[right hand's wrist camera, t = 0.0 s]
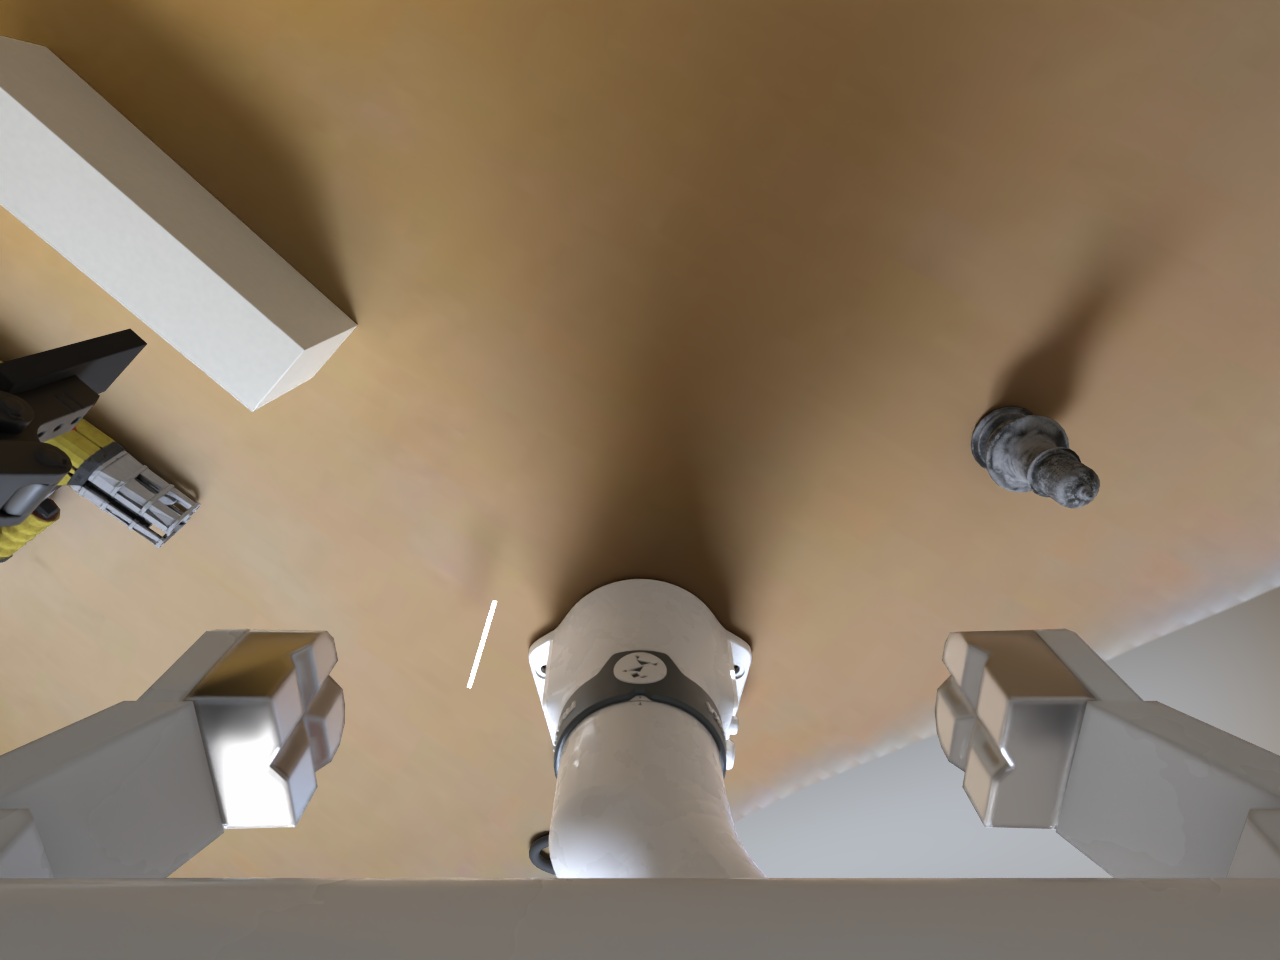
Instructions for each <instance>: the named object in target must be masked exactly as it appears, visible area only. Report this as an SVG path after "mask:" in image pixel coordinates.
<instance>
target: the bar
mask: <svg viewBox="0 0 1280 960" xmlns="http://www.w3.org/2000/svg"><path fill="white" fill-rule="evenodd" d="M0 204H1V205H2V206H3V207H4V208H5V209H7V210H8V211H9V212H10V213H11V214H13V215H14V216H15V217H16V218H18V219H19V220H20V221H21V222H22V223H24V224H25V225H26V226H27V227H28V228H30V229H31V230H32V231H33V232H35V233H36V234H37V235H38V236H39V237H41V238H42V239H43V240H44V241H45V242H47V243H48V244H49V245H50V246H52V247H53V248H54V249H55V250H56V251H58V252H59V253H60V254H61V255H62V256H64V257H65V258H66V259H67V260H69V261H70V262H71V263H72V264H73V265H75V266H76V267H77V268H78V269H79V270H81V271H82V272H83V273H84V274H86V275H87V276H88V277H89V278H90V279H92V280H93V281H94V282H95V283H96V284H98V285H99V286H100V287H101V288H102V289H104V290H105V291H106V292H107V293H109V294H110V295H111V296H112V297H113V298H115V299H116V300H117V301H118V302H119V303H121V304H122V305H123V306H124V307H126V308H127V309H128V310H129V311H130V312H132V313H133V314H134V315H135V316H136V317H138V318H139V319H140V320H141V321H143V322H144V323H145V324H146V325H147V326H149V327H150V328H151V329H152V330H153V331H155V332H156V333H157V334H158V335H160V336H161V337H162V338H163V339H164V340H166V341H167V342H168V343H169V344H170V345H172V346H173V347H174V348H175V349H177V350H178V351H179V352H180V353H181V354H183V355H184V356H185V357H186V358H187V359H189V360H190V361H191V362H192V363H193V364H195V365H196V366H197V367H198V368H200V369H201V370H202V371H203V372H204V373H206V374H207V375H208V376H209V377H210V378H212V379H213V380H214V381H215V382H217V383H218V384H219V385H220V386H221V387H223V388H224V389H225V390H226V391H227V392H229V393H230V394H231V395H232V396H234V397H235V398H236V399H237V400H238V401H240V402H241V403H242V404H243V405H244V406H246V407H247V408H248V409H249V410H251V411H252V412H253V411H255V410H256V409H258V408H260V407H262V406H263V405H265V404H267V403H269V402H271V401H272V400H274V399H276V398H278V397H279V396H281V395H283V394H285V393H286V392H288V391H290V390H292V389H294V388H295V387H297V386H299V385H301V384H302V383H304V382H306V381H308V380H310V379H311V378H313V377H314V375H315V374H316V373H317V372H318V371H319V370H320V368H321V367H322V366H323V365H324V364H325V363H326V362H327V360H328V359H329V358H330V357H331V356H332V355H333V353H334V352H335V351H336V350H337V349H338V348H339V347H340V345H341V344H342V343H343V342H344V341H345V340H346V338H347V337H348V336H349V335H350V334H351V333H352V332H353V330H354V329H355V328H356V327H357V326H358V325H357V324H356V323H355V322H354V321H352V320H351V319H350V318H349V317H348V316H347V315H346V314H345V313H343V312H342V311H341V310H340V309H339V308H338V307H337V306H336V305H335V304H333V303H332V302H331V301H330V300H329V299H328V298H327V297H326V296H324V295H323V294H322V293H321V292H320V291H319V290H318V289H317V288H315V287H314V286H313V285H312V284H311V283H310V282H309V281H308V280H307V279H305V278H304V277H303V276H302V275H301V274H300V273H299V272H298V271H296V270H295V269H294V268H293V267H292V266H291V265H290V264H289V263H288V262H286V261H285V260H284V259H283V258H282V257H281V256H280V255H279V254H277V253H276V252H275V251H274V250H273V249H272V248H271V247H270V246H268V245H267V244H266V243H265V242H264V241H263V240H262V239H261V238H260V237H258V236H257V235H256V234H255V233H254V232H253V231H252V230H251V229H249V228H248V227H247V226H246V225H245V224H244V223H243V222H242V221H240V220H239V219H238V218H237V217H236V216H235V215H234V214H233V213H232V212H230V211H229V210H228V209H227V208H226V207H225V206H224V205H223V204H221V203H220V202H219V201H218V200H217V199H216V198H215V197H214V196H213V195H211V194H210V193H209V192H208V191H207V190H206V189H205V188H204V187H202V186H201V185H200V184H199V183H198V182H197V181H196V180H195V179H193V178H192V177H191V176H190V175H189V174H188V173H187V172H186V171H185V170H183V169H182V168H181V167H180V166H179V165H178V164H177V163H176V162H174V161H173V160H172V159H171V158H170V157H169V156H168V155H167V154H165V153H164V152H163V151H162V150H161V149H160V148H159V147H158V146H157V145H155V144H154V143H153V142H152V141H151V140H150V139H149V138H148V137H146V136H145V135H144V134H143V133H142V132H141V131H140V130H139V129H138V128H136V127H135V126H134V125H133V124H132V123H131V122H130V121H129V120H127V119H126V118H125V117H124V116H123V115H122V114H121V113H120V112H118V111H117V110H116V109H115V108H114V107H113V106H112V105H111V104H110V103H108V102H107V101H106V100H105V99H104V98H103V97H102V96H101V95H99V94H98V93H97V92H96V91H95V90H94V89H93V88H92V87H91V86H89V85H88V84H87V83H86V82H85V81H84V80H83V79H82V78H80V77H79V76H78V75H77V74H76V73H75V72H74V71H73V70H71V69H70V68H69V67H68V66H67V65H66V64H65V63H64V62H63V61H61V60H60V59H59V58H58V57H57V56H56V55H55V54H54V53H52V52H51V51H50V50H49V49H48V48H47V47H45V46H41V45H37V44H33V43H29V42H25V41H21V40H17V39H13V38H9V37H5V36H1V35H0Z"/></svg>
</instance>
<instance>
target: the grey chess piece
mask: <svg viewBox="0 0 1280 960" xmlns="http://www.w3.org/2000/svg"><path fill="white" fill-rule="evenodd" d="M971 448H972V454H973V456H974V458H975V460H976V461H977V462H978V463H979V464H980V465H981V466H982V467H983V468H985V469H987V470H988V472H989V474H990V476H991V478H992V479H993V480H994V481H995V482H996V483H997V484H998V485H999V486H1001V487H1002V488H1004V489H1006V490H1009V491H1013V492H1029V491H1033V492H1034V493H1036V494H1038V495H1040V496H1043V497H1051V498H1052V499H1054V500H1055V501H1056V502H1058V503H1059V504H1061V505H1063V506H1065V507H1069V508H1079V507H1082V506H1084V505H1086V504H1088V503H1090V502H1091V501H1092V500H1093V499H1094V498H1095V497H1096V495H1097V493H1098V491H1099V487H1100V481H1099V478H1098V476H1097V474H1096V473H1095V472H1094V471H1093V470H1092V469H1090V468H1089V467H1087V466H1085V465H1084V464H1082V463H1081V461H1080V459H1079V456H1078V455H1077V454H1076V453H1075V452H1074V451H1072V450H1070V449H1069V443H1068V437H1067V435H1066V433H1065V430H1064V429H1063V428H1062V427H1061V426H1060V425H1059V424H1058V423H1057V422H1056V421H1054V420H1052V419H1051V418H1049V417H1045V416H1041V415H1033V414H1032V413H1031V412H1029V411H1027V410H1026V409H1024V408H1020V407H1003V408H1000V409H997V410H995V411H993V412H991V413H989V414H988V415H987V416H985V417H984V418H983V419H982V420H981V421H980V422H979V424H978V425H977V427H976V428H975V431H974V433H973V435H972V441H971Z"/></svg>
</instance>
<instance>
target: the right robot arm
mask: <svg viewBox="0 0 1280 960" xmlns="http://www.w3.org/2000/svg"><path fill="white" fill-rule="evenodd" d="M496 603H497V601H494V600H493V602H492V605H491V608H490V612H489V615H488V619H487V622H486V625H485V629H484V632H483V635H482V639H481V642H480V646H479V649H478V652H477V656H476V659H475V662H474V666H473V669H472V673H471V676H470V679H469V683H468V686H467V687H469V688H471V686H472V683H473V680H474V677H475V673H476V670H477V667H478V663H479V660H480V657H481V653H482V650H483V647H484V643H485V640H486V637H487V633H488V630H489V627H490V623H491V620H492V616H493V613H494V610H495V606H496ZM751 659H752V656H751V648H750V646H749V645H748V644H747V643H746V642H745V641H744V640H742V639H741V638H739V637H737V636H736V635H734V634H732V633H731V632H729V631H727V630H725V629H724V628H723V627H722V625H721V624H720V623H719V622H718V620H717V619H716V617H715V616H714V615H713V613H712V612H711V611H710V609H709V608H708V607H707V606H706V605H705V604H704V603H703V602H702V601H701V600H700V599H698V598H697V597H696V596H694V595H693V594H691V593H690V592H688V591H686V590H684V589H682V588H680V587H678V586H676V585H673V584H670V583H667V582H663V581H658V580H651V579H629V580H622V581H618V582H614V583H610V584H607V585H605V586H602V587H600V588H598V589H596V590H594V591H592V592H591V593H589V594H587V595H586V596H585V597H583V598H582V599H581V600H580V601H579V602H577V603H576V604H575V605H574V606H573V607H572V609H571V610H570V611H569V612H568V614H567V615H566V617H565V618H564V619H563V621H562V622H561V623H560V625H559V626H558V627H557V628H556V629H555V630H553V631H552V632H550V633H548V634H546V635H545V636H543V637H541V638H540V639H538V640H537V641H536V642H534V643H533V644H532V645H531V647H530V649H529V663H530V666H531V670H532V673H533V677H534V680H535V684H536V687H537V691H538V694H539V697H540V701H541V704H542V708H543V711H544V715H545V718H546V722H547V725H548V729H549V732H550V735H551V739H552V742H553V746H554V749H553V752H554V770H555V776H556V779H557V782H556V789H555V797H554V804H553V811H552V818H551V825H550V833H549V835H546V836H543V837H541V838H539V839H537V840H536V841H534V842H533V844H532V845H531V847H530V851H529V858H530V859H531V861H532V863H533V864H534V865H535V866H536V867H538V868H539V869H541V870H543V871H546V872H548V873H551V874H553V875H556V876H557V878H167V877H168V876H169V875H170V874H172V873H173V872H174V871H175V870H177V869H178V868H179V867H181V866H182V865H183V864H184V863H186V862H187V861H188V860H190V859H191V858H192V857H193V856H195V855H196V854H197V853H198V852H200V851H201V850H202V849H204V848H205V847H206V846H207V845H209V844H210V843H211V842H212V841H214V840H215V839H216V838H218V837H219V836H220V835H221V834H223V833H224V829H236V828H271V827H295V826H296V825H297V823H298V821H299V819H300V817H301V816H302V814H303V812H304V810H305V808H306V807H307V805H308V803H309V801H310V799H311V797H312V796H313V794H314V792H315V790H316V788H317V781H316V775H315V772H316V771H317V770H319V769H320V768H322V767H323V766H325V765H327V764H328V763H330V762H331V761H332V759H333V757H334V755H335V753H336V751H337V749H338V747H339V745H340V741H341V736H342V732H343V728H344V724H345V703H344V696H343V689H342V688H341V687H340V686H339V685H338V684H337V683H336V682H335V681H334V680H333V679H332V678H331V677H330V676H329V674H330V672H331V670H332V669H333V667H334V666H335V664H336V662H337V661H338V658H337V653H336V648H335V643H334V638H333V637H332V636H331V635H330V634H329V633H328V632H327V631H301V630H249V629H220V630H211V631H206V632H205V633H204V634H203V635H202V636H201V637H200V638H199V639H198V640H197V641H196V642H195V643H194V644H193V645H192V646H191V647H190V648H189V649H188V650H187V651H186V652H185V653H184V654H183V655H182V656H181V657H180V658H179V659H178V660H177V661H176V662H175V663H174V664H173V665H172V666H171V667H170V668H169V669H168V670H167V671H166V672H165V673H164V674H163V675H162V676H161V677H160V678H159V679H158V680H157V681H156V682H155V683H154V684H153V685H152V686H151V687H150V688H149V689H148V690H147V691H146V692H145V693H144V694H143V695H142V696H141V697H140V698H139V699H138V700H137V701H123V702H120V703H118V704H116V705H114V706H111V707H109V708H107V709H105V710H102V711H100V712H98V713H96V714H93V715H91V716H89V717H87V718H84V719H82V720H80V721H78V722H75V723H73V724H71V725H69V726H66V727H64V728H62V729H60V730H57V731H55V732H53V733H51V734H48V735H46V736H44V737H41V738H39V739H37V740H35V741H32V742H30V743H28V744H26V745H23V746H21V747H19V748H17V749H14V750H12V751H10V752H8V753H5V754H3V755H1V756H0V960H1280V756H1279V755H1276V754H1274V753H1272V752H1270V751H1267V750H1265V749H1263V748H1261V747H1259V746H1256V745H1254V744H1252V743H1250V742H1247V741H1245V740H1243V739H1241V738H1238V737H1236V736H1234V735H1232V734H1229V733H1227V732H1225V731H1223V730H1220V729H1218V728H1216V727H1214V726H1211V725H1209V724H1207V723H1205V722H1202V721H1200V720H1198V719H1195V718H1193V717H1191V716H1189V715H1187V714H1184V713H1182V712H1180V711H1178V710H1175V709H1173V708H1171V707H1169V706H1166V705H1164V704H1162V703H1160V702H1157V701H1143V700H1142V699H1141V698H1140V697H1139V696H1138V695H1137V694H1136V693H1135V692H1134V691H1133V690H1132V689H1131V688H1130V687H1129V686H1128V685H1127V684H1126V683H1125V682H1124V681H1123V680H1122V679H1121V678H1120V677H1119V676H1118V675H1117V674H1116V673H1115V672H1114V671H1113V670H1112V669H1111V668H1110V667H1109V666H1108V665H1107V664H1106V663H1105V662H1104V661H1103V660H1102V659H1101V658H1100V657H1099V656H1098V655H1097V654H1096V653H1095V652H1094V651H1093V650H1092V649H1091V648H1090V647H1089V646H1088V645H1087V644H1086V643H1085V642H1084V641H1083V640H1082V639H1081V638H1080V637H1079V636H1078V635H1077V634H1076V633H1075V632H1072V631H1070V630H1067V629H1044V630H1013V631H973V632H950V634H949V636H948V638H947V640H946V642H945V646H944V652H943V658H942V661H943V662H944V664H945V666H946V667H947V669H948V670H949V672H950V674H951V676H950V677H949V678H948V679H947V680H946V681H945V682H944V683H943V684H942V685H941V686H940V687H939V688H938V689H937V697H936V705H935V718H936V729H937V734H938V737H939V741H940V744H941V747H942V749H943V751H944V753H945V755H946V757H947V759H948V761H949V762H951V763H952V764H954V765H955V766H957V767H958V768H960V769H961V770H963V771H964V772H965V776H964V781H963V788H964V790H965V792H966V794H967V796H968V797H969V799H970V801H971V803H972V805H973V806H974V808H975V810H976V812H977V814H978V815H979V817H980V819H981V821H982V823H983V824H984V826H985V827H1007V828H1043V829H1056V833H1058V834H1059V835H1060V836H1061V837H1063V838H1064V839H1065V840H1067V841H1068V842H1069V843H1070V844H1072V845H1073V846H1074V847H1075V848H1077V849H1078V850H1079V851H1081V852H1082V853H1083V854H1085V855H1086V856H1087V857H1088V858H1090V859H1091V860H1092V861H1093V862H1095V863H1096V864H1097V865H1098V866H1100V867H1101V868H1102V869H1103V870H1105V871H1106V872H1107V873H1109V874H1110V875H1111V876H1112V877H1114V878H767V877H766V875H765V874H764V873H763V872H762V871H761V870H760V869H759V867H758V866H757V865H756V864H755V862H754V861H753V860H752V859H751V857H750V856H749V854H748V853H747V851H746V850H745V848H744V847H743V845H742V843H741V841H740V839H739V837H738V835H737V833H736V830H735V826H734V823H733V819H732V815H731V812H730V808H729V803H728V799H727V795H726V789H725V784H724V777H725V772H726V769H727V770H729V769H732V767H733V764H734V758H735V744H734V742H732V741H731V740H729V737H730V734H734V735H735V734H736V733H737V730H738V718H737V717H735V716H736V712H737V709H738V706H739V702H740V699H741V695H742V692H743V688H744V685H745V681H746V678H747V674H748V671H749V668H750V664H751ZM543 665H546V669H545V668H543V667H542V666H543ZM734 665H737V666H738V667H737V668H735V669H734ZM546 847H549V852H550V858H551V861H550V860H547V859H545V858H543V857H542V856H541V855H540V851H541V850H542V849H544V848H546Z"/></svg>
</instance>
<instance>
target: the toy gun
mask: <svg viewBox="0 0 1280 960" xmlns="http://www.w3.org/2000/svg"><path fill="white" fill-rule="evenodd" d="M0 363H3V362H2V361H0ZM43 443H49V444H51V445H54V446H56V447H58V448H59V449H61V450H62V451H64V452H65V453H66V454H67V455H68V457H69V458H70V459H71V462H72V467H71V470H70V471H69V472H68V473H67V475H66V476H65V477H64V478H63V479H62V480H61V481H60V482H59V483H58V484H57V486H56V487H55V488H54V489H53V490H52V491H51V492H50V493H49V494H48V495H47V497H46V498H45V499H44V500H43V501H42V502H41V503H40V504H39V505H38V506H37V508H36V509H35V510H34V511H33V512H32V513H31V514H30V515H29V516H28V517H27V519H26V520H25V521H23V522H22V523H21V524H20V525H15V526H6V527H0V562H5V561H6V560H8V559H9V558H10V557H12V555H13V553H15V552H16V551H17V550H18V549H19V548H21V547H22V546H24V545H25V544H26V542H27V541H29V540H32V539H33V538H35V536H36V534H39V533H40V532H42V531H43V530H44V529H46V528H47V526H50V525H51V524H53V523H54V522H55V521H56V520H58V519H59V516H60V509H59V507H58V506H57V505H56V504H55V502H54V501H53V500H51V499H48V497H49V496H50V495H51V494H52V493H53V492H54V491H55V490H56V489H58V488H59V487H61V486H62V485H67V486H69V487H70V488H72V489H73V490H75V491H76V492H78V495H80V496H84V497H85V498H87V499H88V500H90V501H91V502H92V503H94V504H95V505H96V506H98V507H99V508H100V509H101V510H103V511H106V512H108V513H109V514H110V515H112V516H113V517H115V518H116V519H118V520H119V521H121V522H122V523H124V524H125V525H126V526H128V528H129V529H130V530H133V529H134V530H135V531H136V532H138V533H139V534H141V535H142V536H143V537H145V538H146V539H148V540H149V541H150V542H152V543H153V544H155V547H156V548H159V547H161V546H162V545H163V544H164V543H165V542H166V541H168V540H169V539H170V538H171V537H172V536H173V535H174V534H175V533H177V532H178V531H179V530H180V529H181V528H182V527H183V526H184V525H185V524H186V523H187V521H188V520H189V519H190V516H191V515H192V514H193V513H194V512H195V511H196V510H197V509H198V508H199V506H200V505H201V504H200V503H198V502H196V503H195V502H194V501H192V500H191V499H190V498H188V497H187V496H186V495H184V494H183V493H181V492H180V491H179V490H177V489H176V488H175V486H174V485H172V484H168V483H167V482H166V481H164V480H163V479H162V478H160V477H159V476H158V475H156V474H155V473H153V472H152V471H151V470H149V469H148V467H147V466H146V465H144V466H143V465H142V464H141V463H139V462H138V461H137V460H136V459H135V458H133V457H132V456H131V455H130V454H129V453H127V452H126V451H125V448H124V447H122V446H121V445H120V444H118V443H117V442H116V441H114V440H113V439H112V438H110V437H109V436H107V435H106V434H104V433H103V432H102V431H100V430H99V429H97V428H96V427H94V426H93V425H92V424H90V423H89V422H87V421H86V420H84V419H83V418H82V419H81V420H80V421H79V422H78V423H77V425H76V426H75V427H74V428H73V429H72V430H71V431H70V432H67V433H65V434H62V435H60V436H58V437H55V438H53V439H49V440H48V441H46V442H43ZM176 501H177V502H178V503H179V504H181V505H182V506H184V507H185V508H187V509H188V510H187V511H186V512H184V513H183V512H182V511H180V510H179V509H177V508H176V507H174V506H173V505H171V504H174V503H175V502H176ZM182 520H183V521H182ZM152 524H154V525H155V526H157V527H158V528H160V529H161V530H162V531H164V532H165V533H166V534H165V535H164V536H163V537H162V536H160V535H159V534H157V533H156V532H154V531H153V530H151V529H150V528H149V527H150V526H152Z"/></svg>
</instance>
